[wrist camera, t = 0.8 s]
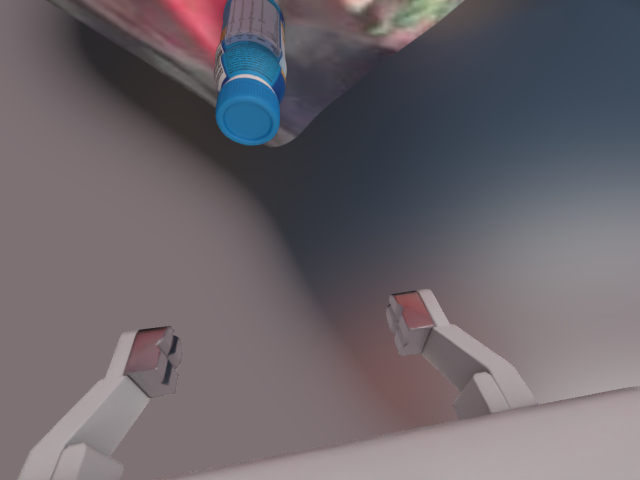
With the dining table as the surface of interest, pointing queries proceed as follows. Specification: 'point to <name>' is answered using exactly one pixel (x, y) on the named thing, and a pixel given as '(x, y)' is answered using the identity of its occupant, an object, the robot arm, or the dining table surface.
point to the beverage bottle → (250, 71)
